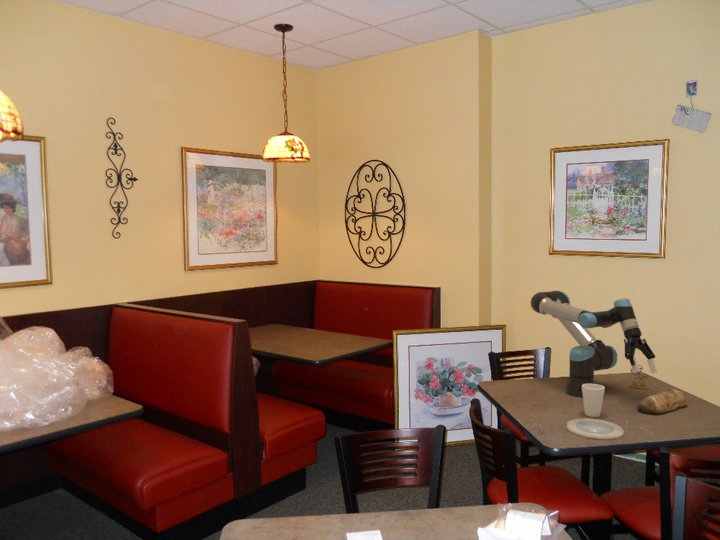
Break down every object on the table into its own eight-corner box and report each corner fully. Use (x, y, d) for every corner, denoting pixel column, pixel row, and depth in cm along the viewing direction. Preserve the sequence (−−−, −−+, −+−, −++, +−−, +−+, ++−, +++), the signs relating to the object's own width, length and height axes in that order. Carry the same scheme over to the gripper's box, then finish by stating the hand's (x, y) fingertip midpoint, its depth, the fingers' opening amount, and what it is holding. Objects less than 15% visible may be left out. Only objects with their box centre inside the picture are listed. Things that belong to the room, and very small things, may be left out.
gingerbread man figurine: (648, 388, 300) (649, 365, 299) (646, 390, 297) (647, 367, 296) (630, 385, 306) (631, 363, 305) (628, 387, 303) (628, 364, 302)
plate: (555, 426, 246) (555, 423, 246) (591, 418, 256) (591, 415, 256) (597, 443, 226) (597, 440, 226) (635, 433, 236) (635, 430, 236)
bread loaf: (666, 424, 251) (668, 403, 250) (626, 412, 264) (628, 392, 263) (696, 409, 274) (699, 390, 273) (658, 399, 287) (660, 380, 286)
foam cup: (603, 412, 263) (603, 384, 262) (604, 419, 254) (605, 390, 253) (580, 410, 266) (581, 382, 265) (581, 416, 258) (582, 388, 257)
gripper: (621, 325, 270) (636, 369, 262) (653, 328, 283) (668, 370, 275) (608, 330, 276) (622, 374, 268) (640, 333, 289) (654, 374, 280)
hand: (645, 372), depth 271 cm, fingers open, 13 cm apart
